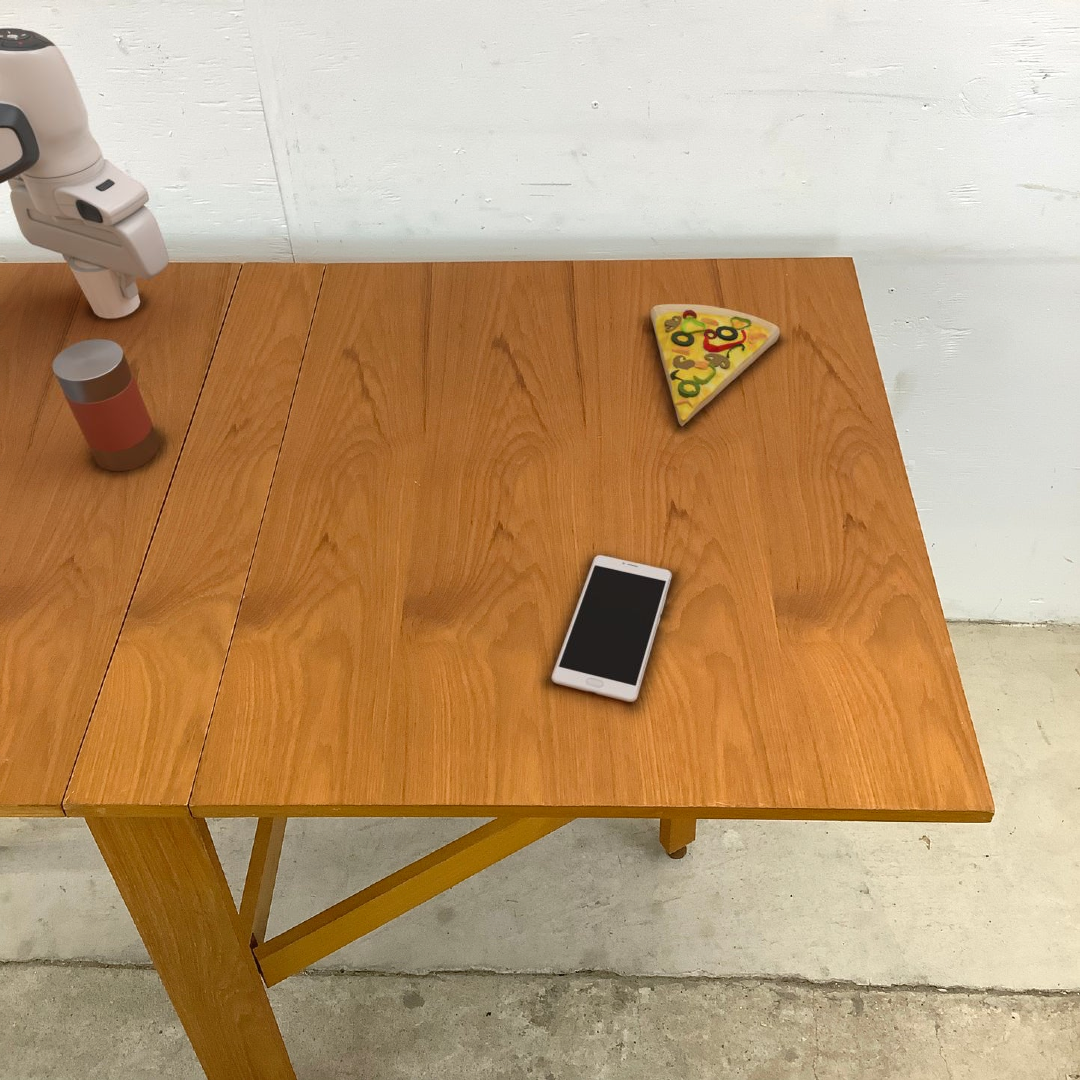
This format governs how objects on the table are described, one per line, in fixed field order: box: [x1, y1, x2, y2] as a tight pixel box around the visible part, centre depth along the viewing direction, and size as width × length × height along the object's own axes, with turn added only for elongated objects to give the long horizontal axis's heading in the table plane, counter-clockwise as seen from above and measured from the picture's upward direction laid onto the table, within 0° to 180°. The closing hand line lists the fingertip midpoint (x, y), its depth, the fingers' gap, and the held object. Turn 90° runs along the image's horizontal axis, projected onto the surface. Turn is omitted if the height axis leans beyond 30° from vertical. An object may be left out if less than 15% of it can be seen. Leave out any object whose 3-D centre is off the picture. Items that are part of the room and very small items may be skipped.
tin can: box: [52, 338, 160, 472], centre depth 100 cm, size 7×7×12 cm
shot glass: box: [67, 257, 141, 319], centre depth 120 cm, size 7×7×7 cm
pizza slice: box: [649, 303, 781, 427], centre depth 111 cm, size 16×21×3 cm
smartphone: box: [551, 554, 673, 703], centre depth 87 cm, size 8×1×15 cm
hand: (110, 289), depth 121 cm, fingers closed on shot glass, 5 cm apart
